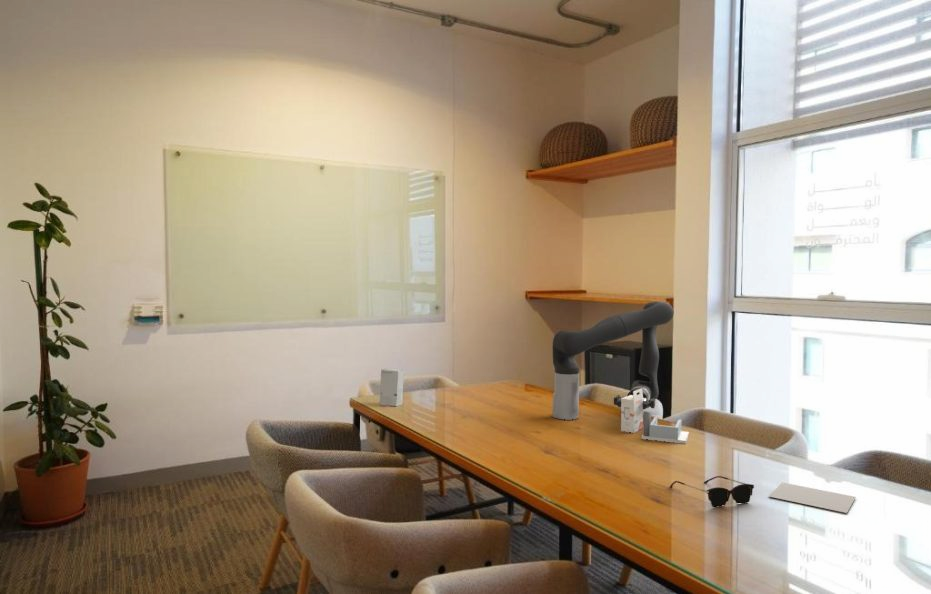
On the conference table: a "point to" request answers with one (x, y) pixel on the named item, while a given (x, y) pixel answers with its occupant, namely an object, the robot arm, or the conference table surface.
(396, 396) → the skincare box
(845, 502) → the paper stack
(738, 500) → the sunglasses
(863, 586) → the conference table surface
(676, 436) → the keeper cradle
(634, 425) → the ink cartridge box
